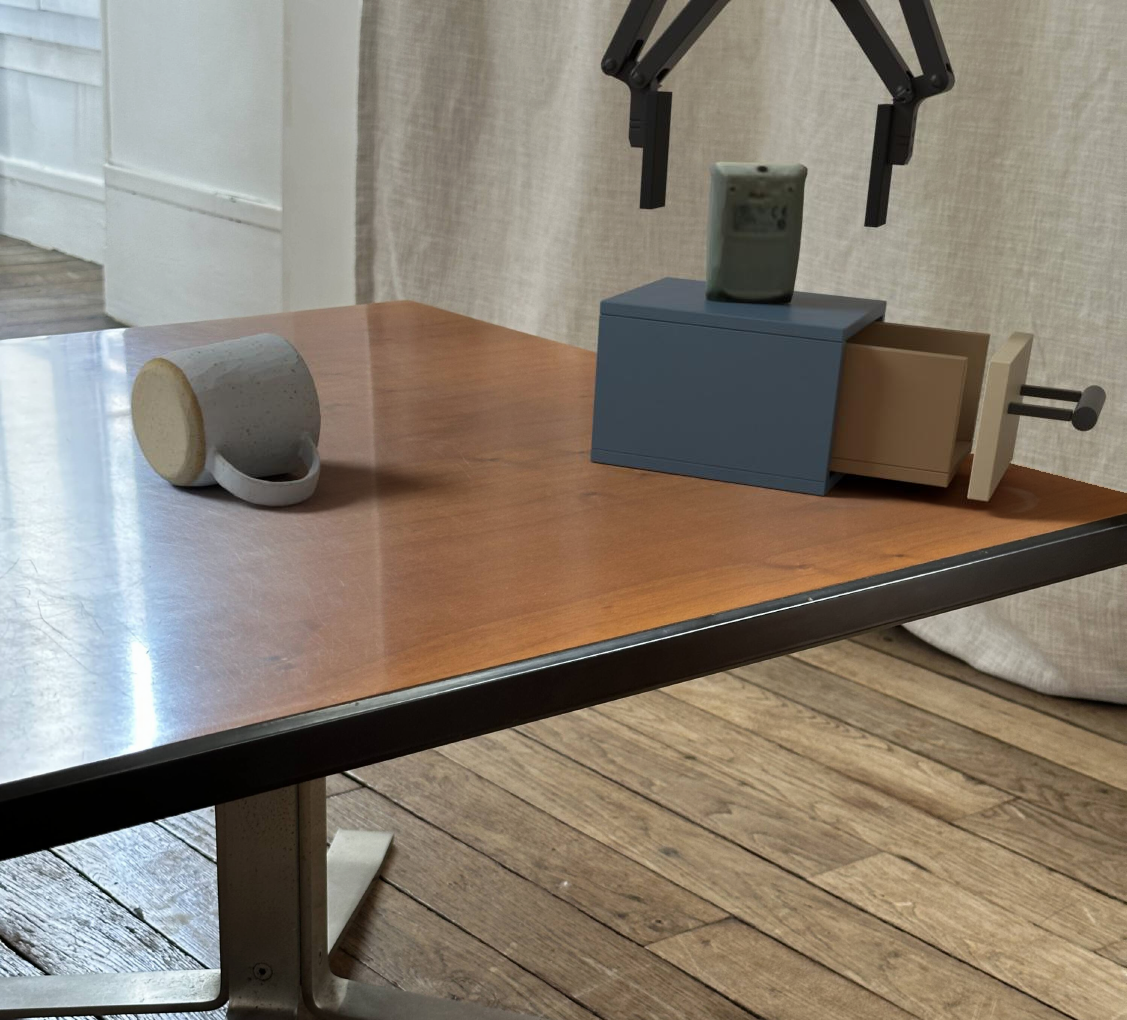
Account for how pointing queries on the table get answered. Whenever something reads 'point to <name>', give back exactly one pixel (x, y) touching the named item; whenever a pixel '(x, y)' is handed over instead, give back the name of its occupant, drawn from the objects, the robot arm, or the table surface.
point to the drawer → (940, 405)
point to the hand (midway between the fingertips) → (761, 216)
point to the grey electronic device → (754, 231)
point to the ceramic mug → (231, 418)
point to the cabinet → (723, 384)
